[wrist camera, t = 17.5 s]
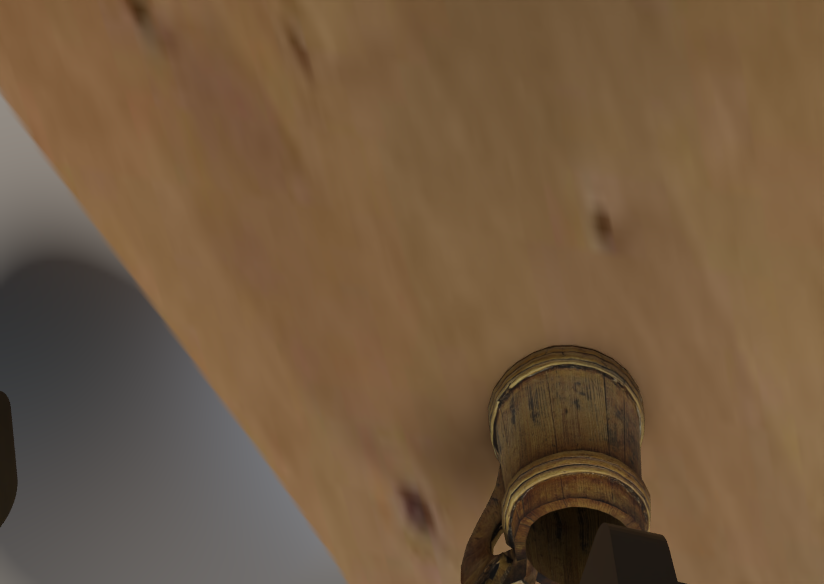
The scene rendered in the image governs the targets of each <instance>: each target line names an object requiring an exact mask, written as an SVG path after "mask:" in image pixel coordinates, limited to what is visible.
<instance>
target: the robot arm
mask: <svg viewBox="0 0 824 584" xmlns="http://www.w3.org/2000/svg"><path fill="white" fill-rule="evenodd" d="M16 492H17V469H16V459H15V448H14V437H13V427H12V416H11V406H10V402H9V399H8V397H7V396H6V394H5V393H3V392H2V391H0V527H1V525H2V524H3V523H4V521H5V519H6V518H7V516H8V514H9V512H10V510H11V508H12V506H13V503H14V500H15V496H16ZM579 584H685V583H681V582H678V581H677V578H676V574H675V570H674V566H673V562H672V558H671V554H670V551H669V547H668V544H667V541H666V539H665V537H664V536H663V535H660V534H656V533H651V532H646V531H642V530H637V529H632V528H628V527H623V526H618V525H614V524H609V523H602V524H601V525H600V527H599V529H598V531H597V533H596V536H595V539H594V542H593V545H592V548H591V551H590V554H589V557H588V560H587V563H586V566H585V568H584V571H583V574H582V577H581V580H580V583H579Z"/></svg>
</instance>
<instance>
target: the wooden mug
mask: <svg viewBox="0 0 824 584" xmlns="http://www.w3.org/2000/svg"><path fill="white" fill-rule="evenodd" d="M488 415H489V427H490V435H491V442H492V445H493V448H494V452H495V455H496V458H497V459H498V460H499V462H500V468H499V473H498V478H497V483H496V487H495V489H494V491H493V493H492V496H491V498H490V500H489V502H488V504H487V506H486V508H485V510H484V511H483V513H482V515H481V517H480V519H479V521H478V523H477V525H476V527H475V529H474V531H473V533H472V535H471V537H470V539H469V541H468V544H467V546H466V550H465V553H464V557H463V561H462V565H461V584H535V581H537V582H539V583H541V584H579V583H580V580H581V577H582V574H583V571H584V568H585V566H586V563H587V560H588V557H589V554H590V551H591V548H592V545H593V542H594V539H595V536H596V533H597V531H598V529H599V527H600V525H601V524H602V523H609V524H614V525H618V526H623V527H628V528H632V529H637V530H642V531H646V532H649V530H650V518H651V502H650V494H649V492H648V490H647V488H646V486H645V484H644V482H643V480H642V477H641V452H640V448H641V444H642V439H643V435H644V423H645V420H644V409H643V401H642V398H641V395H640V392H639V389H638V386H637V385H636V383H635V382H634V380H633V379H632V377H631V376H630V375H629V373H628V372H627V371H626V370H625V369H624V368H622V367H621V366H620V365H619V364H618V363H616V362H615V361H614V360H613V359H611V358H609V357H607V356H605V355H602V354H600V353H598V352H596V351H594V350H589V349H584V348H579V347H574V346H565V347H550V348H547V349H544V350H541V351H538V352H535V353H533V354H531V355H529V356H528V357H526V358H524V359H523V360H521V361H519V362H518V363H516V364H515V365H514V366H513V367H512V368H511V369H510V370H509V371H508V372H506V373H505V375H504V376H503V377H502V379H501V380H500V381H499V383H498V384H497V386H496V387H495V388H494V391H493V394H492V397H491V400H490V403H489V406H488ZM503 532H504V535H505V540H506V544H507V545H508V546H510V547H511V548H512V549H511V550H509V551H506V552H504V553H503V552H502V553H501V554H499V555H493V548H494V546H495V544H496V542H497V541H498V539H499V537H500V536H501V534H502V533H503Z"/></svg>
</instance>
